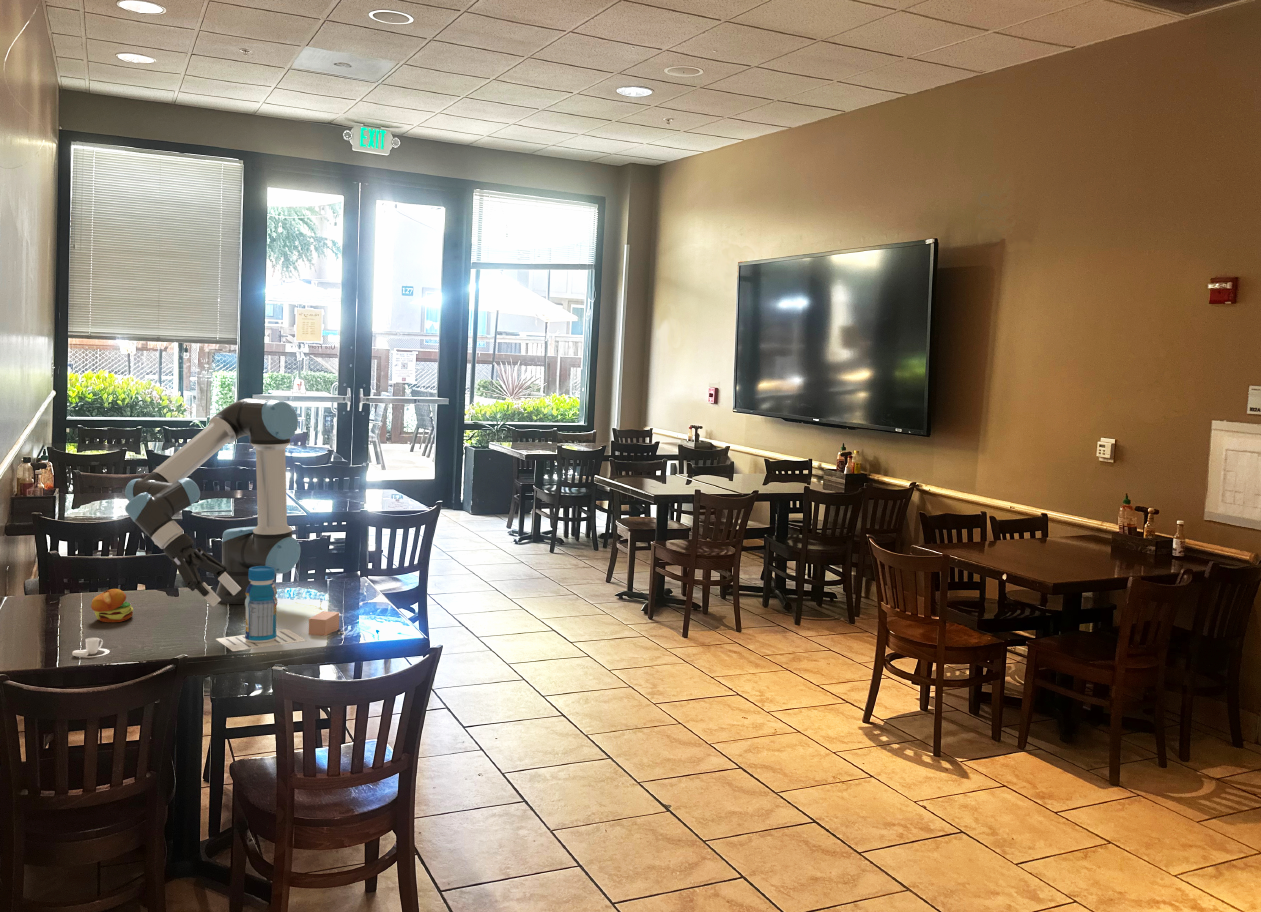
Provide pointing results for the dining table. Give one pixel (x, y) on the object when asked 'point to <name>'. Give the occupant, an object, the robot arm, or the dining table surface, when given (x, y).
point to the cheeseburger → (112, 606)
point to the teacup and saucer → (90, 648)
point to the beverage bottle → (261, 605)
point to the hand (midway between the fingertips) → (227, 597)
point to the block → (324, 623)
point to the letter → (241, 644)
